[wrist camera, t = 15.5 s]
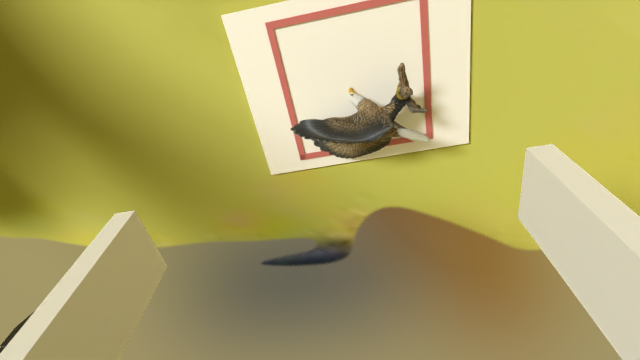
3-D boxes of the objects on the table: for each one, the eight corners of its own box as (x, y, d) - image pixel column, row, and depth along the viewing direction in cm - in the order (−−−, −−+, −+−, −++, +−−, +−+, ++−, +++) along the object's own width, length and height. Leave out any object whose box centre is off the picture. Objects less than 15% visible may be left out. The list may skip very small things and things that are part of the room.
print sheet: (271, 173, 34) (271, 175, 34) (222, 15, 27) (220, 15, 27) (467, 141, 32) (469, 143, 31) (470, -41, 25) (472, -41, 24)
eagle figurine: (373, 31, 26) (275, 105, 27) (431, 89, 22) (313, 173, 23) (398, 92, 32) (317, 150, 34) (446, 146, 28) (353, 209, 30)
